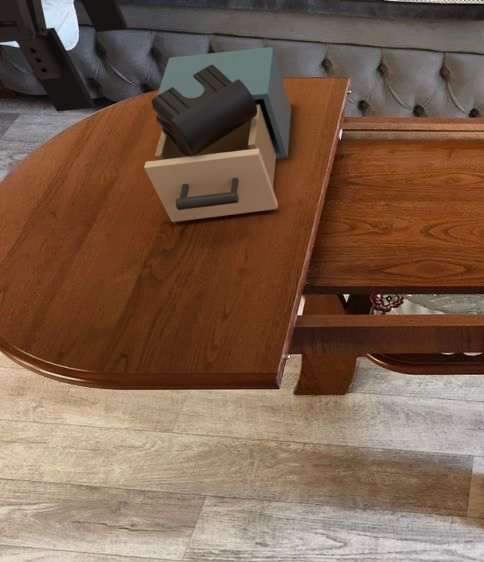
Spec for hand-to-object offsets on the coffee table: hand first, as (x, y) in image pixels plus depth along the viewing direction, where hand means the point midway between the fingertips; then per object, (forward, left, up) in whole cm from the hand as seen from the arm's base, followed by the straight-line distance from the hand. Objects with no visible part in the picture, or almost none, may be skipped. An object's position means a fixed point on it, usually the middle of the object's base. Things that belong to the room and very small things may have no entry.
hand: (95, 65), depth 60 cm
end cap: (+12, +14, -20) cm, 27 cm away
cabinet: (+19, +23, -29) cm, 41 cm away
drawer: (+10, +11, -28) cm, 32 cm away
